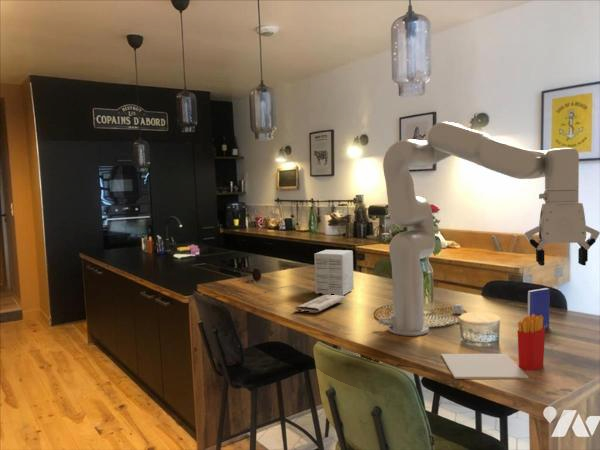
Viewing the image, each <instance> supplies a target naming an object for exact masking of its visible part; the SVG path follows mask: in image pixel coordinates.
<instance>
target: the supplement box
mask: <svg viewBox="0 0 600 450" xmlns="http://www.w3.org/2000/svg"><path fill="white" fill-rule="evenodd" d="M313 255H314V286H315V288H314V289H315V294H319V293H322V295H331V294H334V295H340V296H344V295H347V294H348V293H350V292H351V291H353V290H354V288H355V287H354V252H353V250H349V249H345V250H343V249H324V250H321V251H319V252H316V253H315V252H314V254H313Z"/></svg>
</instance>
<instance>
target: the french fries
mask: <svg viewBox="0 0 600 450" xmlns="http://www.w3.org/2000/svg"><path fill="white" fill-rule="evenodd" d="M517 326H518V327H517V328H518V329H517V347H518V348H517V352H518V366H519V367H520V368H521V370H523V371H528V372H529V371H530V372H531V370H532V371H533V370H534V371H537V370H539V369H540V367H541V368H543V367H544V357H545V341H546V340H545V337H546V328H545V327H543V317H542V315H540V316H538V315H536V316H535V314H533V315H531V316H528V315H527V316H525V317H524V318H523V319H522V320H519V321H518V322H517ZM542 366H543V367H542ZM538 368H539V369H538ZM536 369H537V370H536Z"/></svg>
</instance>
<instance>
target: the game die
mask: <svg viewBox="0 0 600 450" xmlns="http://www.w3.org/2000/svg"><path fill="white" fill-rule="evenodd" d="M452 312H453V313H454V315H455V314H456V315H460V314H462V313H463V312H464V306H462V304H460V303H456V304H454V305H453V307H452Z"/></svg>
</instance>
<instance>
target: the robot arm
mask: <svg viewBox="0 0 600 450" xmlns="http://www.w3.org/2000/svg"><path fill="white" fill-rule="evenodd" d="M453 156H454V157H457V158H460V159H462V160H464V161H468V162H471V163H473V164H476V165H478V166H480V167H483V168H486V169H488V170H491V171H493V172H496V173H499V174H502V175H505V176H507V177H511V178H514V179H516V180H517V179H518V180H526V179H527V180H533V179H534V180H535V179H540V178H544V192H543V193H539V194H538V199H539V200H543V201H544V203H542V205H541V207H540V208H541V210H540V213H539V214H540V215H539V222H538V223H539V224H538V225H537V226H535V227H534V228H532V229H529V230H527V231H525V232H524V236H525V238H526V239H527V241H528V243H529V244H530V245H531V246H532V247H533V248H534V249H535V261H536V262H537V264H538V265H539V266H541V267H542V266H545V250H544V248H545V246H546V245H547V244H548V243H549V244H569V243H570V244H575V243H576V244H578V245H579V248H578V251H577V253H578V259H577V260H578V261H577V262H578V264H579V265H581V266H587V262H588V258H589V257H588V256H589V249H590V248H591V247H592V246H593V245H594V244H595V243H596V242H597V239H598V238H599V235H600V231H598V230H596V229H594V228H592V227H590V226H588V225H587V223H586V215H585V214H586V213H585V208H584V204H583V202H579V199H580V198H579V190H580V189H579V184H580V183H579V182H580V178H579V177H580V176H579V173H580V171H579V169H580V168H579V167H580V166H579V165H580V160H579V159H580V158H579V157H580V155H579V151H578V150H577V149H576V148H575V147H560V148H552V149H551V148H550V149H548V150H537V149H528V148H527V149H526V148H522V147H518V146H514V145H510V144H508V143H504V142H501V141H498V140H495V139H494V138H492V137H491V136H490V135H489V134H488V133H485V132H482V131H478V130H475V129H471V128H469V127H468V128H467V127H465V126H463V125H462V124H459V123H457V122H456V123H455V122H449V121H440V122H437V123H435V124H433V125H432V126H431V128H430V130H429V131H428V134H427V138H426V139H423V140H422V139H420V140H419V139H413V138H412V139H411V138H407V139H400V140H398V141H396V142H395V143H393V144H392V145H390V146H389V148H388V149H387V151H386V152H385V154H384V156H383V157H384V158H383V160H382V161H383V162H382V166H383V167H382V170H383V175H384V176H383V177H384V181H385V185H386V186H385V187H386V197H387V204H388V206H387V207H388V212H389V218H390V221H391V223H392V225H394V226H396V227H398V228H406V229H407V231H401V232H399V233H397V234H395V235H394V236H393V237H392V238H391V240H390V242H389V245H388V251H389V257H390V263H391V270H392V271H391V273H392V279H391V280H392V313H391V315H390V316H388V317H378V324H379V325H380V324H381V325H382V324H383V326H388V327H387V329H388V331H389V332H390V333H392V334H394V335H399V336H406V337H408V336H409V337H415V336H423V335H425V334H427V333H429V330H430V326H429V325H426V323H425V318H424V316H425V313H424V312H425V311H424V308H425V307H424V306H425V305H424V303H425V301H424V300H425V299H424V271H423V267H422V265H421V259H425V258H427V257H430V256H431V255H432V254H433V253H434V252H435V249H436V246H437V245H436V240H437V239H436V232H435V231H436V230H435V223H434V216H433V209H432V208H431V205H430V203H429V201H428V200H427V199H425V198H423V197H422V196H419V195H416V192H415V184H414V180H413V177H412V175H411V173H410V172H411V171H410V169H411V168H428V167H431V166H434V165H435V164H438V163H440V162H441V161H443V160H445V159H447V158H450V157H453ZM587 233H589V234H590V237H588V239H587ZM536 234H538V239H539V240H538V241H536V240H535V239H534V237H533V236H534V235H536ZM586 239H587V240H586Z"/></svg>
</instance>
